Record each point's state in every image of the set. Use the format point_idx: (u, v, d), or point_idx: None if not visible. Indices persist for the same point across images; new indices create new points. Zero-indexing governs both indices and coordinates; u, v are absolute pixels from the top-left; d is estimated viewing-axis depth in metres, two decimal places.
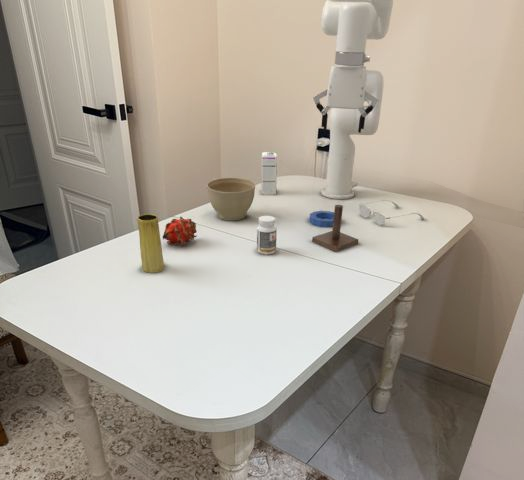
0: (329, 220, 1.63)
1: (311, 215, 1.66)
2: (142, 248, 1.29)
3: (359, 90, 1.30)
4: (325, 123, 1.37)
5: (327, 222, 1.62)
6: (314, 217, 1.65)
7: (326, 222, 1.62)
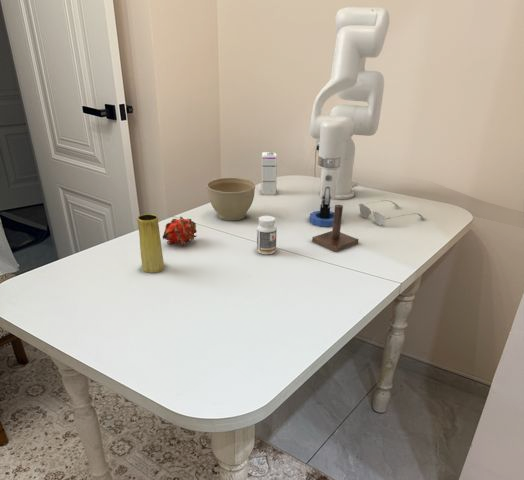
0: (329, 220, 1.63)
1: (311, 215, 1.66)
2: (142, 248, 1.29)
3: (320, 185, 1.61)
4: (320, 210, 1.71)
5: (327, 222, 1.62)
6: (314, 217, 1.65)
7: (326, 222, 1.62)
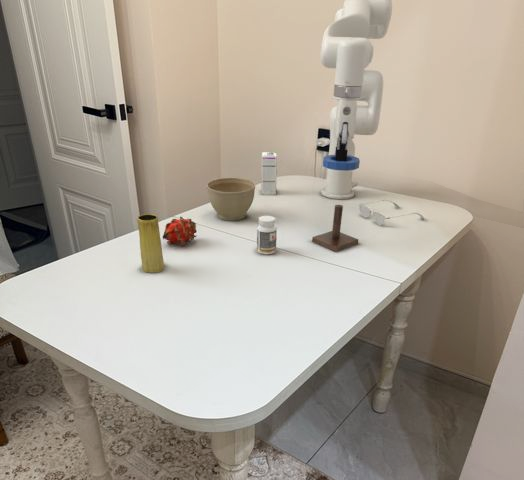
0: (347, 162, 1.37)
1: (325, 158, 1.41)
2: (142, 248, 1.29)
3: (337, 121, 1.36)
4: (335, 154, 1.46)
5: (344, 164, 1.37)
6: (329, 159, 1.40)
7: (343, 164, 1.37)
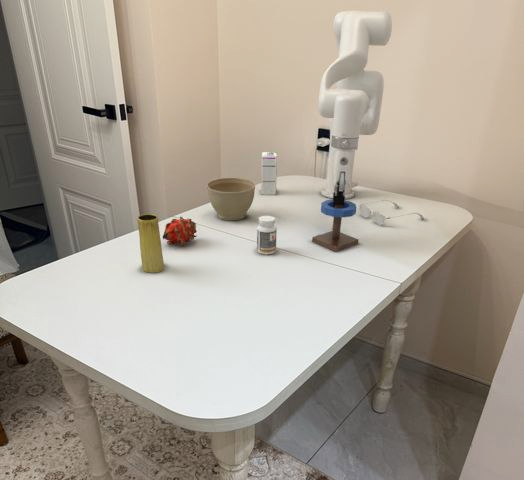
0: (344, 209, 1.42)
1: (323, 204, 1.46)
2: (142, 248, 1.29)
3: (334, 170, 1.41)
4: (333, 199, 1.50)
5: (342, 212, 1.42)
6: (327, 206, 1.44)
7: (340, 212, 1.42)
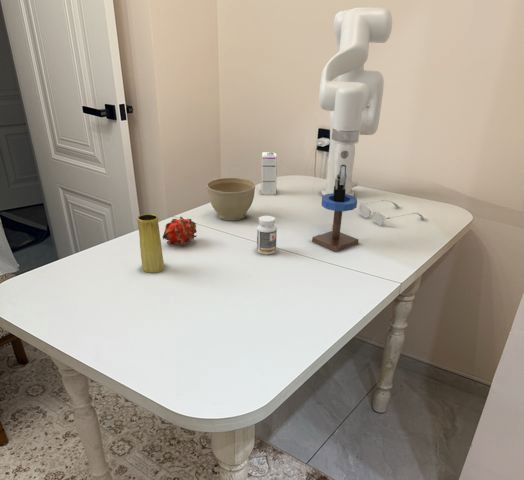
0: (345, 203, 1.41)
1: (324, 198, 1.45)
2: (142, 248, 1.29)
3: (335, 163, 1.40)
4: None
5: (343, 205, 1.41)
6: (328, 200, 1.43)
7: (341, 205, 1.41)
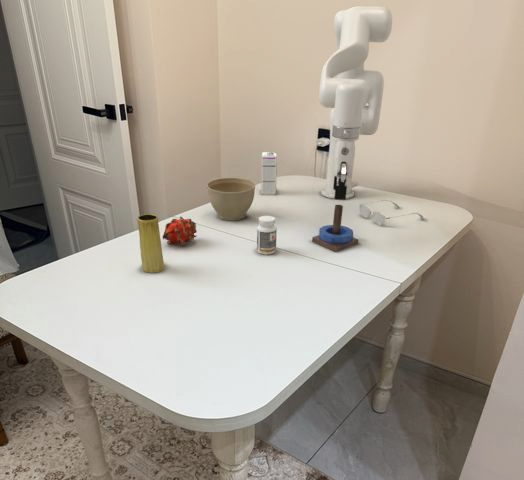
0: (341, 236, 1.47)
1: (321, 230, 1.51)
2: (142, 248, 1.29)
3: (335, 160, 1.39)
4: (334, 183, 1.51)
5: (339, 238, 1.47)
6: (325, 232, 1.49)
7: (338, 238, 1.47)
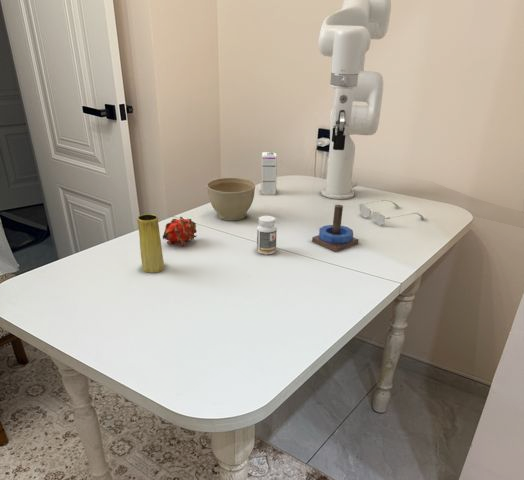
0: (341, 236, 1.47)
1: (321, 230, 1.51)
2: (142, 248, 1.29)
3: (334, 109, 1.38)
4: (332, 135, 1.50)
5: (339, 238, 1.47)
6: (325, 232, 1.49)
7: (338, 238, 1.47)
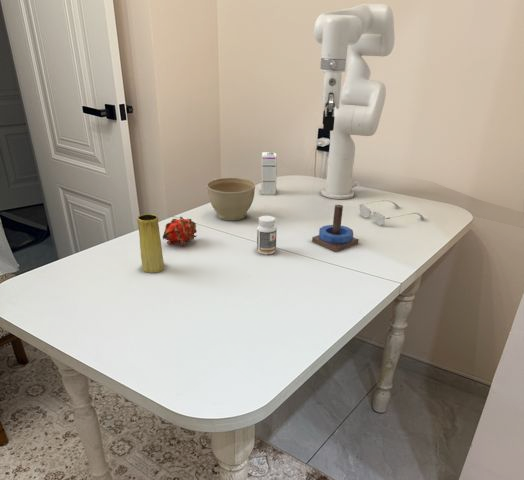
0: (341, 236, 1.47)
1: (321, 230, 1.51)
2: (142, 248, 1.29)
3: (323, 92, 1.49)
4: (323, 118, 1.60)
5: (339, 238, 1.47)
6: (325, 232, 1.49)
7: (338, 238, 1.47)
